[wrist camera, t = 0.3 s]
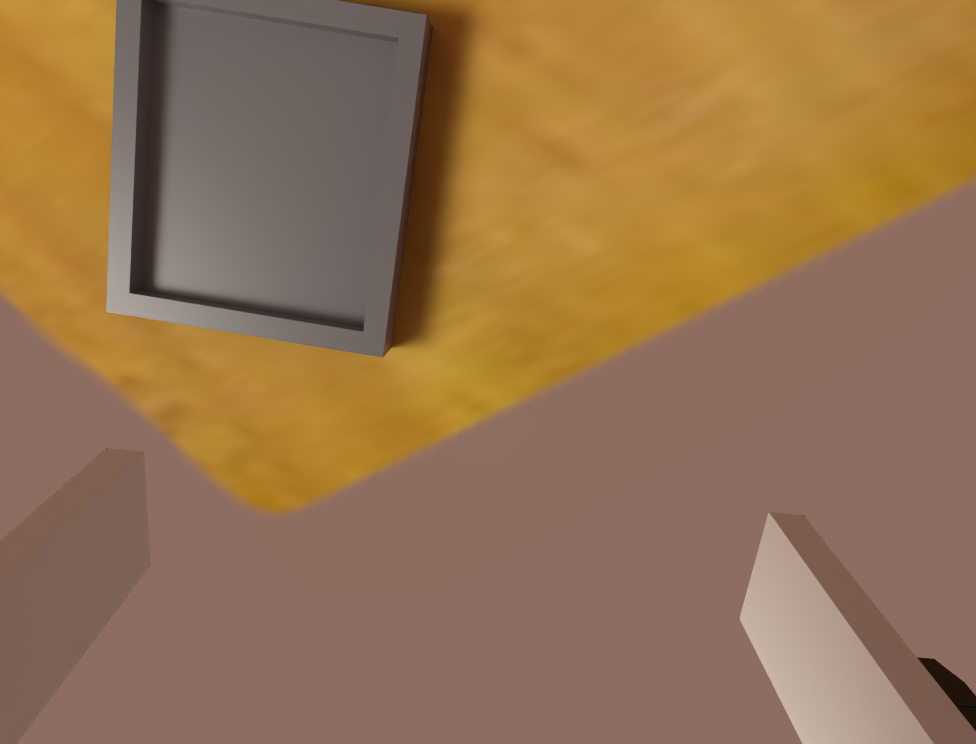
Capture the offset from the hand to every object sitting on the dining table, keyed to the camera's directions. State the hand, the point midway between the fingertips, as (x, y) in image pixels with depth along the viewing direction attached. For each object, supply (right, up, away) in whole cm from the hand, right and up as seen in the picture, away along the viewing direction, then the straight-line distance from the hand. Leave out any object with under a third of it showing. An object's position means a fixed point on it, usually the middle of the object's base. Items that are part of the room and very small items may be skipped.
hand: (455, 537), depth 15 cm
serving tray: (-11, +14, +24) cm, 30 cm away
